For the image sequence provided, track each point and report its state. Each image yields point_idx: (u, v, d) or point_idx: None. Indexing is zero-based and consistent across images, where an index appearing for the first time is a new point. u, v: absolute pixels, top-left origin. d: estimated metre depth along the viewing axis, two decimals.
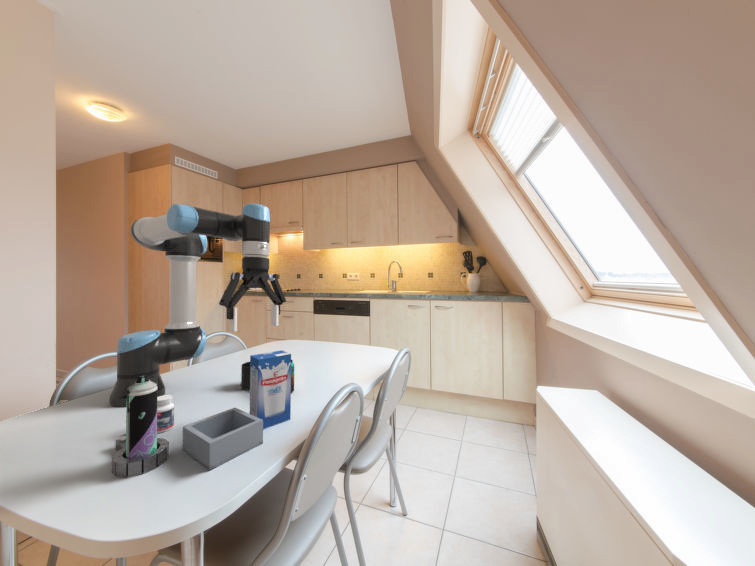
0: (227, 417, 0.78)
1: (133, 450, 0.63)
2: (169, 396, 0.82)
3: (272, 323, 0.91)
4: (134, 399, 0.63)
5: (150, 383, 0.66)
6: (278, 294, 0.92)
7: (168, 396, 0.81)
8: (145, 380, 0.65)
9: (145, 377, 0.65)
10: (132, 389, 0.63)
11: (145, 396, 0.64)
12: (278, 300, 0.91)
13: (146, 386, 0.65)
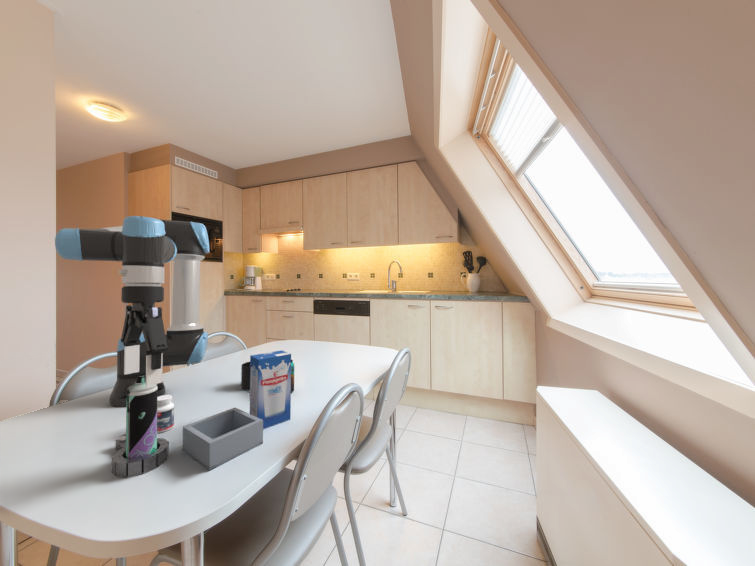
0: (227, 417, 0.78)
1: (133, 450, 0.63)
2: (169, 396, 0.82)
3: None
4: (134, 399, 0.63)
5: None
6: None
7: (168, 396, 0.81)
8: (145, 380, 0.65)
9: (145, 377, 0.65)
10: (132, 389, 0.63)
11: (145, 396, 0.64)
12: (148, 348, 0.60)
13: None
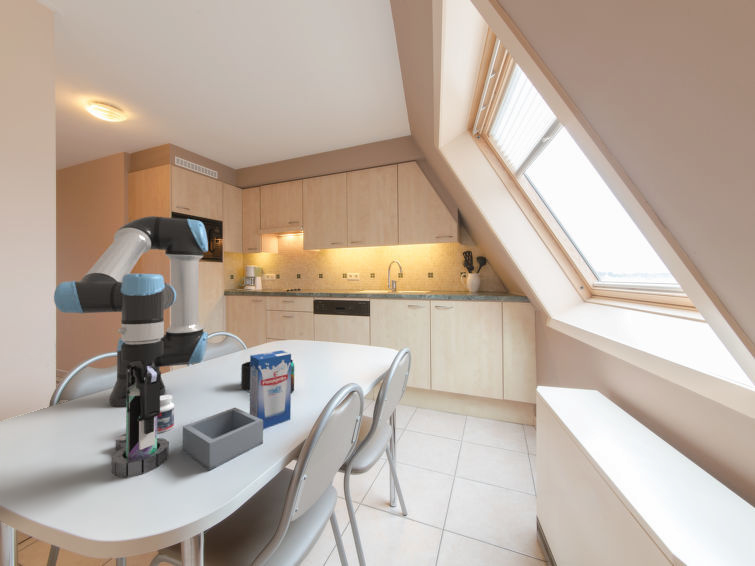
0: (227, 417, 0.78)
1: (133, 450, 0.63)
2: (169, 396, 0.82)
3: None
4: (134, 399, 0.63)
5: None
6: None
7: (168, 396, 0.82)
8: None
9: None
10: (132, 389, 0.63)
11: None
12: (142, 413, 0.62)
13: None
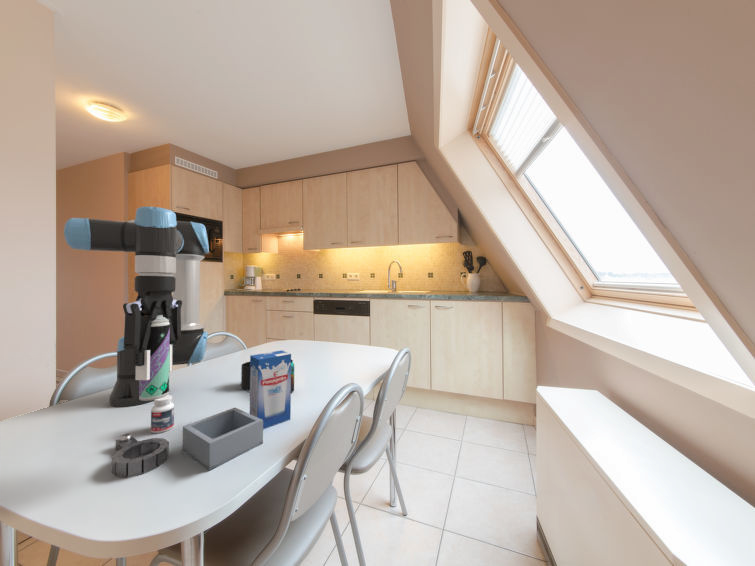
0: (227, 417, 0.78)
1: None
2: (169, 396, 0.82)
3: None
4: None
5: None
6: None
7: (168, 396, 0.81)
8: None
9: None
10: None
11: None
12: None
13: None
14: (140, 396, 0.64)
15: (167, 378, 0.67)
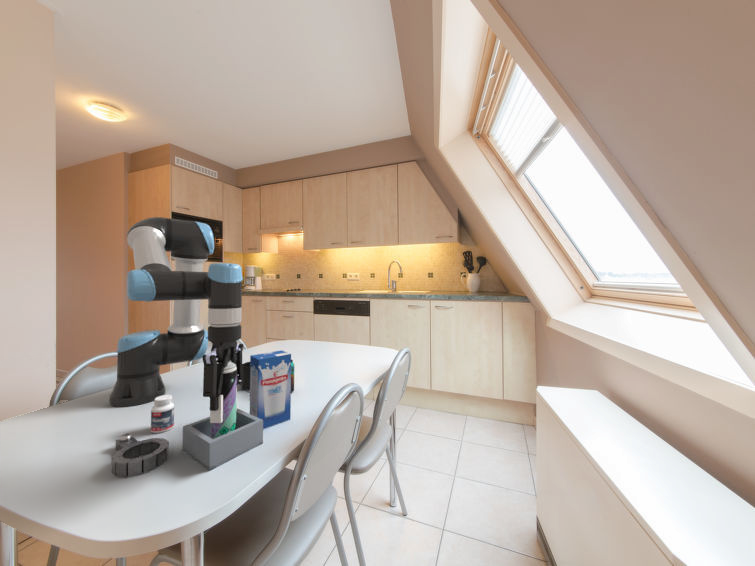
0: None
1: None
2: (169, 396, 0.82)
3: None
4: None
5: None
6: None
7: (168, 396, 0.81)
8: None
9: None
10: None
11: None
12: None
13: None
14: (213, 437, 0.70)
15: (235, 418, 0.73)
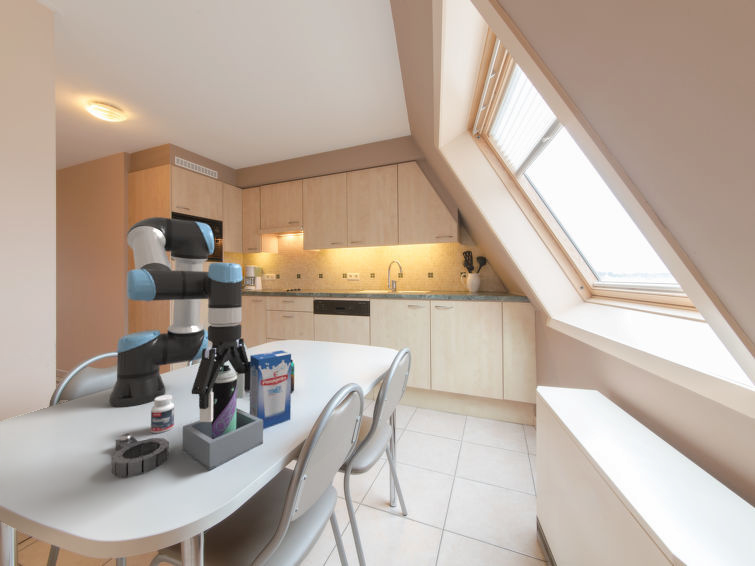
0: None
1: None
2: (169, 396, 0.82)
3: None
4: None
5: (226, 374, 0.71)
6: None
7: (168, 396, 0.81)
8: (224, 370, 0.71)
9: (224, 367, 0.71)
10: None
11: (217, 384, 0.70)
12: None
13: (221, 375, 0.70)
14: None
15: (235, 427, 0.73)
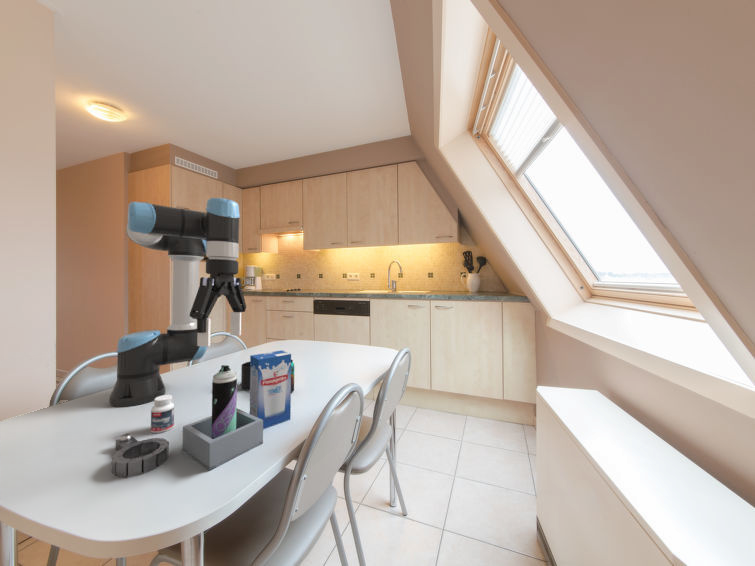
0: None
1: None
2: (169, 396, 0.82)
3: None
4: (212, 384, 0.70)
5: (226, 374, 0.71)
6: None
7: (168, 396, 0.81)
8: (224, 370, 0.71)
9: (224, 367, 0.71)
10: (215, 374, 0.71)
11: (217, 384, 0.69)
12: None
13: (221, 375, 0.70)
14: None
15: (235, 427, 0.73)
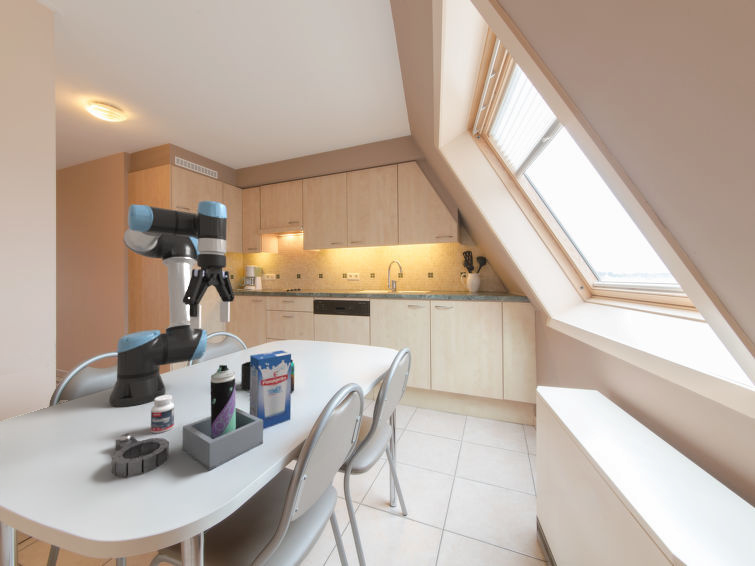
0: None
1: (211, 430, 0.70)
2: (169, 396, 0.82)
3: None
4: None
5: (224, 373, 0.71)
6: None
7: (168, 396, 0.81)
8: (221, 370, 0.71)
9: (222, 367, 0.71)
10: (213, 374, 0.72)
11: (215, 384, 0.69)
12: None
13: (219, 375, 0.70)
14: None
15: (235, 427, 0.73)
